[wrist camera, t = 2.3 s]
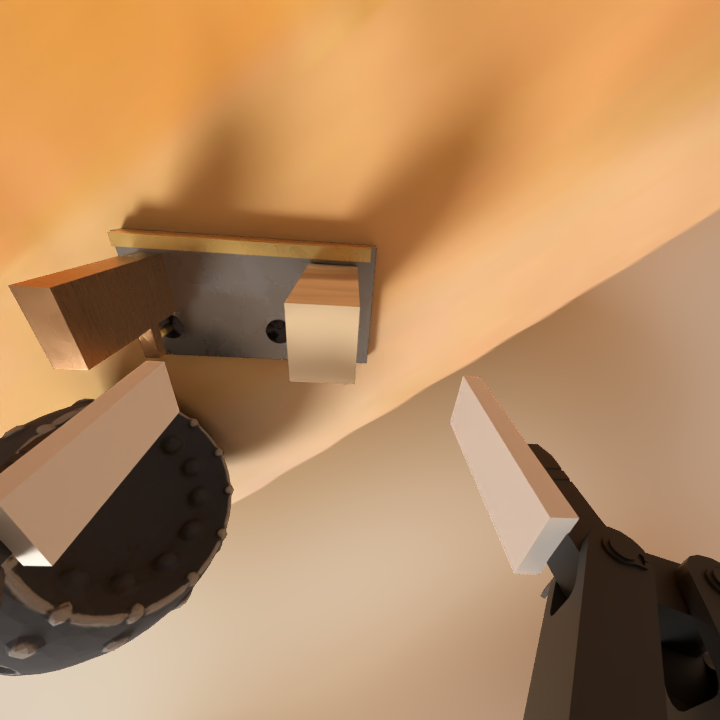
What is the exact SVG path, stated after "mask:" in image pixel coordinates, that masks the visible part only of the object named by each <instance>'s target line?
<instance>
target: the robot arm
mask: <svg viewBox="0 0 720 720" xmlns="http://www.w3.org/2000/svg"><path fill="white" fill-rule="evenodd" d="M179 412H180V411H179V408H178V405H177V401H176V398H175V395H174V391H173V388H172V385H171V382H170V378H169V375H168V372H167V368H166V365H165V362H164V361H145V362H144V363H142V364H141V365H140V366H138V367H137V368H136V369H135V370H133V371H132V372H131V373H129V374H128V375H127V376H125V377H124V378H123V379H122V380H120V381H119V382H118V383H116V384H115V385H114V386H113V387H111V388H110V389H109V390H107V391H106V392H105V393H104V394H102V395H101V396H100V397H98V398H97V399H96V400H94V401H93V402H92V403H91V404H89V405H88V406H87V407H85V408H84V409H83V410H82V411H80V412H79V413H78V414H76V415H75V416H74V417H73V418H71V419H70V420H69V421H67V422H66V423H65V424H64V425H62V426H61V427H56V428H55V429H53V430H51V431H49V432H47V433H45V434H43V435H41V436H39V437H37V438H35V439H34V440H33V441H31V442H30V443H29V444H27V445H26V446H25V447H23V448H22V449H21V450H19V453H18V454H14V455H13V456H11V457H10V458H9V459H7V460H6V461H5V462H4V464H3V465H0V608H1V601H2V594H3V587H4V580H5V572H4V568H3V567H2V566H1V565H2V564H3V563H4V562H5V561H6V559H7V558H8V557H9V556H10V555H11V554H12V555H13V556H14V557H15V558H16V559H17V560H18V561H19V562H20V563H21V564H22V565H23V566H53V565H54V564H55V562H56V561H57V560H58V559H59V557H60V556H61V555H62V554H63V553H64V551H65V550H66V549H67V548H68V547H69V545H70V544H71V543H72V542H73V540H74V539H75V538H76V537H77V536H78V534H79V533H80V532H81V531H82V530H83V528H84V527H85V526H86V525H87V523H88V522H89V521H90V520H91V519H92V517H93V516H94V515H95V514H96V513H97V511H98V510H99V509H100V508H101V506H102V505H103V504H104V503H105V502H106V500H107V499H108V498H109V497H110V496H111V494H112V493H113V492H114V491H115V489H116V488H117V487H118V486H119V485H120V483H121V482H122V481H123V480H124V479H125V477H126V476H127V475H128V474H129V473H130V471H131V470H132V469H133V468H134V466H135V465H136V464H137V463H138V462H139V460H140V459H141V458H142V457H143V456H144V454H145V453H146V452H147V451H148V449H149V448H150V447H151V446H152V445H153V443H154V442H155V441H156V440H157V439H158V437H159V436H160V435H161V434H162V432H163V431H164V430H165V429H166V428H167V426H168V425H169V424H170V423H171V422H172V420H173V419H174V418H175V417H176V415H177V414H178V413H179ZM450 424H451V426H452V428H453V431H454V433H455V435H456V438H457V440H458V443H459V445H460V447H461V450H462V452H463V454H464V457H465V459H466V461H467V463H468V466H469V469H470V471H471V473H472V476H473V478H474V480H475V483H476V485H477V487H478V490H479V492H480V494H481V497H482V499H483V501H484V504H485V506H486V509H487V511H488V513H489V516H490V518H491V520H492V523H493V525H494V527H495V530H496V532H497V534H498V537H499V539H500V542H501V544H502V546H503V549H504V551H505V553H506V556H507V558H508V560H509V563H510V565H511V567H512V570H513V572H514V574H540V572H541V571H542V570H543V568H544V567H545V566H546V564H548V566H549V568H550V570H551V572H552V573H553V575H554V577H553V579H552V580H551V581H550V583H549V584H548V585H547V586H546V588H545V589H544V591H543V592H542V594H541V596H542V597H543V598H546V596H547V595H548V598H547V603H546V608H545V613H544V618H543V623H542V628H541V633H540V638H539V643H538V648H537V653H536V658H535V663H534V668H533V673H532V678H531V683H530V688H529V693H528V698H527V703H526V708H525V714H524V719H523V720H720V563H719V562H717V561H715V560H713V559H711V558H708V557H704V556H700V555H695V556H690V557H689V558H687V559H686V560H685V561H684V562H683V563H682V564H678V563H675V562H672V561H669V560H666V559H663V558H660V557H657V556H654V555H650V554H648V553H645V552H644V550H643V549H642V548H641V547H640V546H639V545H638V544H636V543H635V542H634V541H633V540H632V539H631V538H629V537H628V536H626V535H624V534H623V533H622V532H620V531H617V530H615V529H613V528H610V527H606V525H605V524H604V523H603V522H602V521H601V519H600V518H599V517H598V516H597V514H596V513H595V512H594V510H593V509H592V508H591V506H590V505H589V504H588V503H587V501H586V500H585V499H584V497H583V496H582V495H581V493H580V492H579V491H578V489H577V488H576V487H575V485H574V484H573V483H572V482H570V480H569V478H568V476H567V475H566V474H565V473H564V471H562V470H561V467H560V466H559V465H558V463H557V462H556V461H555V459H554V458H553V457H552V456H551V455H550V454H549V453H548V452H546V451H545V450H544V449H543V448H542V447H540V446H539V445H538V444H527V443H526V442H525V441H524V439H523V437H522V436H521V434H520V433H519V432H518V430H517V429H516V427H515V426H514V425H513V423H512V422H511V420H510V419H509V418H508V416H507V415H506V413H505V412H504V410H503V409H502V407H501V406H500V405H499V403H498V402H497V401H496V399H495V397H494V396H493V395H492V393H491V392H490V390H489V389H488V388H487V386H486V385H485V383H484V382H483V380H482V379H481V378H480V377H477V376H463V379H462V383H461V386H460V389H459V393H458V396H457V400H456V403H455V407H454V411H453V414H452V418H451V421H450Z"/></svg>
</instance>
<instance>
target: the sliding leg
mask: <svg viewBox="0 0 720 720" xmlns="http://www.w3.org/2000/svg"><path fill="white" fill-rule="evenodd" d="M284 308H285V323H286V338H287V352H288V367H289V381H290V382H314V383H338V384H355V372H356V357H357V342H358V328H359V313H360V300H359V284H358V268H357V266H344V265H328V264H313V263H309V264H308V266H307V267H306V269H305V271H304V272H303V274H302V275H301V277H300V279H299V280H298V282H297V283H296V285H295V286H294V288H293V290H292V291H291V293H290V294H289V296H288V298H287V299H286V301H285V302H284Z"/></svg>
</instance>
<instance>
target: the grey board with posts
mask: <svg viewBox="0 0 720 720" xmlns="http://www.w3.org/2000/svg"><path fill="white" fill-rule="evenodd" d="M107 233H108V236H109V239H110V242H111V245H112V246H115V247H116V250H117V253H118V256H117V257H114V258H110V259H106V260H102V261H99V262H95V263H91V264H87V265H83V266H80V267H76V268H72V269H68V270H65V271H61V272H57V273H53V274H50V275H46V276H42V277H38V278H35V279H31V280H27V281H23V282H19V283H16V284H12V285H8V286H9V288H10V289H11V291H12V293H13V295H14V297H15V299H16V300H17V302H18V304H19V306H20V308H21V310H22V311H23V313H24V315H25V317H26V319H27V321H28V323H29V324H30V326H31V328H32V330H33V332H34V334H35V335H36V337H37V339H38V341H39V343H40V345H41V346H42V348H43V350H44V352H45V354H46V356H47V357H48V359H49V361H50V363H51V365H52V367H53V369H73V370H90V369H91V368H93V367H94V366H96V365H97V364H99V363H100V362H102V361H103V360H105V359H106V358H108V357H109V356H111V355H112V354H114V353H115V352H117V351H118V350H120V349H121V348H123V347H124V346H126V345H127V344H129V343H130V342H132V341H133V340H135V339H136V338H138V337H139V340H140V343H141V346H142V348H143V351H144V354H145V357H146V358H161V357H162V356H163V355H165V354H176V355H198V356H220V357H242V358H264V359H285V360H288V352H287V338H286V323H285V308H284V302H285V301H286V299H287V298H288V296H289V294H290V293H291V291H292V290H293V288H294V286H295V285H296V283H297V282H298V280H299V279H300V277H301V275H302V274H303V272H304V271H305V269H306V267H307V266H308V264H309V263H313V264H328V265H344V266H357V268H358V284H359V300H360V313H359V328H358V342H357V357H356V363H367V351H368V340H369V329H370V318H371V307H372V295H373V284H374V273H375V262H376V250H377V247H376V246H374V245H359V244H344V243H329V242H314V241H299V240H284V239H269V238H254V237H239V236H224V235H209V234H194V233H180V232H165V231H150V230H135V229H114V230H110V232H107Z"/></svg>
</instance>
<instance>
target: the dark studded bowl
mask: <svg viewBox="0 0 720 720" xmlns="http://www.w3.org/2000/svg"><path fill="white" fill-rule="evenodd" d="M93 401H94V399H83V400H79V401H77V402H76V403H75V404H73V405H72V406H71V407H68V408H64V409H61V410H58V411H55V412H53V413H50V414H47V415H44V416H42V417H39V418H37V419H35V420H33V421H31V422H29V423H27V424H25V425H21V426H16V427H14V428H12V429H11V430H9V431H8V432H6V433H5V434H4V435H3V437H2V438H0V465H3V464H4V462H5V461H6V460H7V459H9V458H10V457H11V456H13V455H14V454H18V453H19V450H21V449H22V448H23V447H25V446H26V445H27V444H29V443H30V442H31V441H33V440H34V439H35V438H37V437H39V436H41V435H43V434H45V433H47V432H49V431H51V430H53V429H55V428H56V427H61V426H62V425H64V424H65V423H66V422H67V421H69V420H70V419H71V418H73V417H74V416H75V415H76V414H78V413H79V412H80V411H82V410H83V409H84V408H85V407H87V406H88V405H89V404H91V403H92V402H93ZM233 490H234V489H233V487H232V486H231V484H230V478H229V473H228V469H227V466H226V463H225V460H224V457H223V450H222V449H221V448H219V447H218V446H217V445H216V444H215V442H214V441H213V439H212V438H211V436H210V435H209V434H208V433H207V432H206V431H205V430H204V429H203V428H202V427H201V426H200V425H199V423H198V420H196V419H193V418H190V417H188V416H186V415H184V414H183V413H181V412H179V413H178V414H177V415H176V417H175V418H174V419H173V420H172V422H171V423H170V424H169V425H168V426H167V428H166V429H165V430H164V431H163V432H162V434H161V435H160V436H159V437H158V439H157V440H156V441H155V442H154V443H153V445H152V446H151V447H150V448H149V449H148V451H147V452H146V453H145V454H144V456H143V457H142V458H141V459H140V460H139V462H138V463H137V464H136V465H135V466H134V468H133V469H132V470H131V471H130V473H129V474H128V475H127V476H126V477H125V479H124V480H123V481H122V482H121V483H120V485H119V486H118V487H117V488H116V489H115V491H114V492H113V493H112V494H111V496H110V497H109V498H108V499H107V500H106V502H105V503H104V504H103V505H102V506H101V508H100V509H99V510H98V511H97V513H96V514H95V515H94V516H93V517H92V519H91V520H90V521H89V522H88V523H87V525H86V526H85V527H84V528H83V530H82V531H81V532H80V533H79V534H78V536H77V537H76V538H75V539H74V540H73V542H72V543H71V544H70V545H69V547H68V548H67V549H66V550H65V551H64V553H63V554H62V555H61V556H60V557H59V559H58V560H57V561H56V562H55V564H54V565H53V566H23V565H22V564H21V563H20V562H19V561H18V560H17V559H16V558H15V557H14V556H13V555H12V554H11V555H10V556H9V557H8V558H7V559H6V561H5V562H4V563H3V564H2V565H1V566H2V567H3V568H4V572H5V580H4V587H3V594H2V601H1V608H0V675H9V676H20V675H32V674H41V673H47V672H52V671H56V670H60V669H64V668H67V667H70V666H73V665H76V664H79V663H82V662H85V661H87V660H90V659H93V658H95V657H98V656H101V655H103V654H106V653H108V652H111V651H114V650H115V649H117V648H119V647H120V646H122V645H124V644H126V643H127V642H129V641H131V640H132V639H134V638H135V637H137V636H138V635H140V634H141V633H143V632H144V631H146V630H147V629H149V628H150V627H151V626H152V625H154V624H155V623H156V622H158V621H159V620H160V619H161V618H162V617H164V616H165V615H166V614H167V613H169V612H170V611H172V610H174V609H177V608H180V607H181V606H182V605H183V604H185V603H186V602H187V600H188V598H189V597H190V595H191V592H192V589H193V587H194V586H195V584H196V583H197V582H198V580H199V579H200V578H201V576H202V575H203V573H204V572H205V571H206V569H207V568H208V566H209V565H210V563H211V561H212V559H213V558H214V556H215V554H216V553H217V552H218V551H219V550H220V549H221V546H222V541H223V540H224V539H225V538H226V535H227V533H226V528H227V524H228V520H229V516H230V509H231V495H232V493H233Z"/></svg>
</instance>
